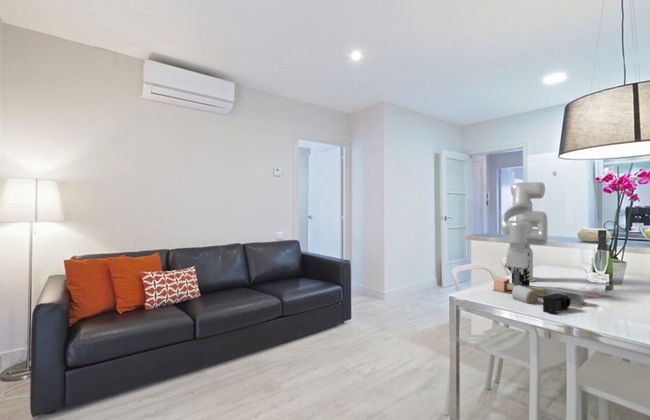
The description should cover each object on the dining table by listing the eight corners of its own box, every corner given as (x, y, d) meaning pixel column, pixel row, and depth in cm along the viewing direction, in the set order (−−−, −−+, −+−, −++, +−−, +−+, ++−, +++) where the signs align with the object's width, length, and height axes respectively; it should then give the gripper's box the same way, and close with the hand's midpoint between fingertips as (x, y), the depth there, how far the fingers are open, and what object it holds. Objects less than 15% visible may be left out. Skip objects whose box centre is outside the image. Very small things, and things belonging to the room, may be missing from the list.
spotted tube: (525, 286, 174) (525, 251, 174) (532, 290, 166) (532, 253, 166) (509, 285, 176) (509, 251, 175) (515, 289, 168) (515, 253, 167)
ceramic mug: (527, 306, 140) (528, 290, 140) (511, 301, 148) (511, 285, 148) (543, 304, 144) (543, 288, 144) (526, 299, 152) (527, 283, 151)
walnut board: (500, 288, 171) (500, 286, 171) (586, 304, 142) (586, 302, 142) (492, 292, 163) (492, 290, 163) (581, 310, 135) (581, 308, 135)
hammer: (505, 287, 165) (505, 268, 165) (555, 296, 148) (555, 276, 148) (502, 288, 162) (502, 270, 162) (553, 298, 146) (553, 277, 146)
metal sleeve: (546, 296, 152) (546, 286, 151) (584, 303, 140) (584, 292, 140) (543, 298, 148) (543, 288, 148) (581, 306, 137) (581, 295, 137)
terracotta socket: (499, 287, 169) (499, 277, 169) (509, 288, 165) (509, 278, 165) (493, 289, 164) (493, 279, 164) (503, 291, 160) (503, 281, 160)
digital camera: (556, 316, 129) (556, 299, 129) (542, 311, 134) (543, 296, 133) (570, 312, 133) (571, 296, 133) (557, 308, 138) (557, 293, 138)
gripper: (538, 246, 155) (538, 282, 155) (503, 243, 167) (503, 277, 167) (534, 248, 150) (533, 285, 150) (498, 245, 162) (498, 279, 162)
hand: (517, 280), depth 159 cm, fingers closed on hammer, 2 cm apart
